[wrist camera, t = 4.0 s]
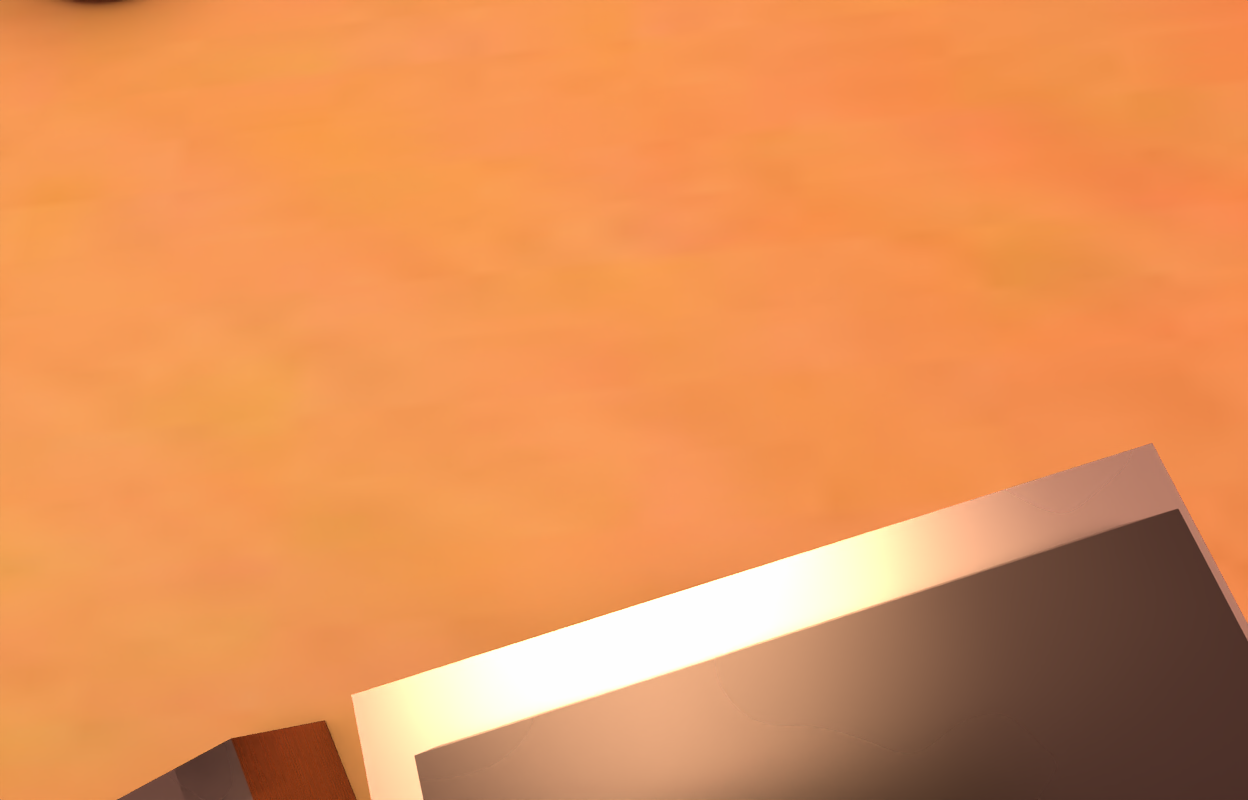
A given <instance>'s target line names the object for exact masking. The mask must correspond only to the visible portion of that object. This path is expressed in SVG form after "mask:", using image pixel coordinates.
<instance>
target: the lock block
mask: <svg viewBox="0 0 1248 800" xmlns="http://www.w3.org/2000/svg"><path fill="white" fill-rule="evenodd" d="M352 700H353V705H354V711H355V716H356V721H357V727H358V732H359V737H360V743H361V748H362V753H363V759H364V764H365V769H366V775H367V780H368V785H369V791H370V796H371V800H1248V624H1247V622H1246V620H1245V618H1244V616H1243V614H1242V612H1241V610H1240V609H1239V607H1238V605H1237V603H1236V601H1235V599H1234V597H1233V595H1232V593H1231V592H1230V590H1229V588H1228V586H1227V584H1226V582H1225V580H1224V578H1223V576H1222V574H1221V573H1220V571H1219V569H1218V567H1217V565H1216V563H1215V561H1214V559H1213V557H1212V556H1211V554H1210V552H1209V550H1208V548H1207V546H1206V544H1205V542H1204V540H1203V538H1202V537H1201V535H1200V533H1199V531H1198V529H1197V527H1196V525H1195V523H1194V521H1193V520H1192V518H1191V516H1190V514H1189V512H1188V510H1187V508H1186V506H1185V504H1184V502H1183V501H1182V499H1181V497H1180V495H1179V493H1178V491H1177V489H1176V487H1175V485H1174V483H1173V482H1172V480H1171V478H1170V476H1169V474H1168V472H1167V470H1166V468H1165V466H1164V465H1163V463H1162V461H1161V459H1160V457H1159V455H1158V453H1157V451H1156V449H1155V447H1154V446H1153V444H1152V443H1151V444H1148V445H1144V446H1141V447H1138V448H1135V449H1132V450H1129V451H1125V452H1122V453H1119V454H1116V455H1113V456H1109V457H1106V458H1103V459H1100V460H1097V461H1094V462H1090V463H1087V464H1084V465H1081V466H1078V467H1075V468H1071V469H1068V470H1065V471H1062V472H1059V473H1055V474H1052V475H1049V476H1046V477H1043V478H1040V479H1036V480H1033V481H1030V482H1027V483H1024V484H1021V485H1017V486H1014V487H1011V488H1008V489H1005V490H1001V491H998V492H995V493H992V494H989V495H986V496H982V497H979V498H976V499H973V500H970V501H966V502H963V503H960V504H957V505H954V506H951V507H947V508H944V509H941V510H938V511H935V512H932V513H928V514H925V515H922V516H919V517H916V518H912V519H909V520H906V521H903V522H900V523H897V524H893V525H890V526H887V527H884V528H881V529H878V530H874V531H871V532H868V533H865V534H862V535H858V536H855V537H852V538H849V539H846V540H843V541H839V542H836V543H833V544H830V545H827V546H824V547H820V548H817V549H814V550H811V551H808V552H804V553H801V554H798V555H795V556H792V557H789V558H785V559H782V560H779V561H776V562H773V563H769V564H766V565H763V566H760V567H757V568H754V569H750V570H747V571H744V572H741V573H738V574H735V575H731V576H728V577H725V578H722V579H719V580H715V581H712V582H709V583H706V584H703V585H700V586H696V587H693V588H690V589H687V590H684V591H681V592H677V593H674V594H671V595H668V596H665V597H661V598H658V599H655V600H652V601H649V602H646V603H642V604H639V605H636V606H633V607H630V608H626V609H623V610H620V611H617V612H614V613H611V614H607V615H604V616H601V617H598V618H595V619H592V620H588V621H585V622H582V623H579V624H576V625H572V626H569V627H566V628H563V629H560V630H557V631H553V632H550V633H547V634H544V635H541V636H538V637H534V638H531V639H528V640H525V641H522V642H518V643H515V644H512V645H509V646H506V647H503V648H499V649H496V650H493V651H490V652H487V653H483V654H480V655H477V656H474V657H471V658H468V659H464V660H461V661H458V662H455V663H452V664H449V665H445V666H442V667H439V668H436V669H433V670H429V671H426V672H423V673H420V674H417V675H414V676H410V677H407V678H404V679H401V680H398V681H395V682H391V683H388V684H385V685H382V686H379V687H375V688H372V689H369V690H366V691H363V692H360V693H356V694H353V695H352Z"/></svg>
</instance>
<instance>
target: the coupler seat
mask: <svg viewBox="0 0 1248 800" xmlns="http://www.w3.org/2000/svg"><path fill="white" fill-rule="evenodd" d="M118 800H356V799H355V796H354V794H353V791H352V789H351V786H350V784H349V781H348V779H347V776H346V773H345V771H344V768H343V766H342V763H341V761H340V758H339V756H338V753H337V751H336V748H335V746H334V743H333V741H332V738H331V736H330V733H329V730H328V728H327V725H326V723H325V721H320V722H314V723H309V724H304V725H299V726H294V727H289V728H283V729H278V730H273V731H268V732H263V733H257V734H252V735H247V736H242V737H237V738H232V739H229V740H227V741H226V742H224V743H222V744H220V745H218V746H216V747H214V748H213V749H211V750H209V751H207V752H205V753H203V754H201V755H200V756H198V757H196V758H194V759H192V760H190V761H188V762H187V763H185V764H183V765H181V766H179V767H177V768H175V769H174V770H172V771H170V772H168V773H166V774H164V775H162V776H161V777H159V778H157V779H155V780H153V781H151V782H149V783H148V784H146V785H144V786H142V787H140V788H138V789H136V790H134V791H133V792H131V793H129V794H127V795H125V796H123V797H121V798H120V799H118Z"/></svg>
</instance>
